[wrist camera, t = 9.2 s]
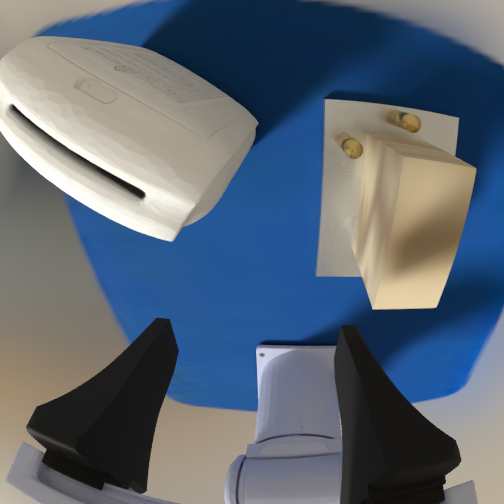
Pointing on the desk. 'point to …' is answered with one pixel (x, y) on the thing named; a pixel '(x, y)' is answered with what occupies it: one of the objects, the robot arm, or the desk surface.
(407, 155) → the board
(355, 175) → the plate
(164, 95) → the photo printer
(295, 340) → the desk surface
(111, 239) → the desk surface
